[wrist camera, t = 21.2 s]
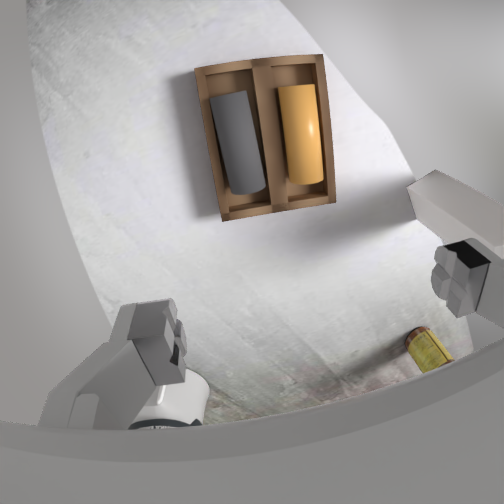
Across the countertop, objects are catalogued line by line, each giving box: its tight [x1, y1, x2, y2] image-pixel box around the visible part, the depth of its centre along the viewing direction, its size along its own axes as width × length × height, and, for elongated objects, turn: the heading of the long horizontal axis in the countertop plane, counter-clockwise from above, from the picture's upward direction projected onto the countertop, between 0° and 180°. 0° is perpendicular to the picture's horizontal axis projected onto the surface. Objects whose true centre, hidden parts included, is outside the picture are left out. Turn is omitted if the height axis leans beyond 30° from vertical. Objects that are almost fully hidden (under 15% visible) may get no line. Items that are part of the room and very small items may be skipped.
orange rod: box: [278, 84, 324, 185], centre depth 34 cm, size 11×4×4 cm, turn 8°
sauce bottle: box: [405, 327, 455, 373], centre depth 48 cm, size 6×6×20 cm
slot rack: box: [194, 54, 336, 222], centre depth 35 cm, size 14×18×3 cm
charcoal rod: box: [209, 91, 266, 195], centre depth 34 cm, size 11×4×4 cm, turn 11°
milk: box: [407, 170, 504, 259], centre depth 33 cm, size 6×6×22 cm
